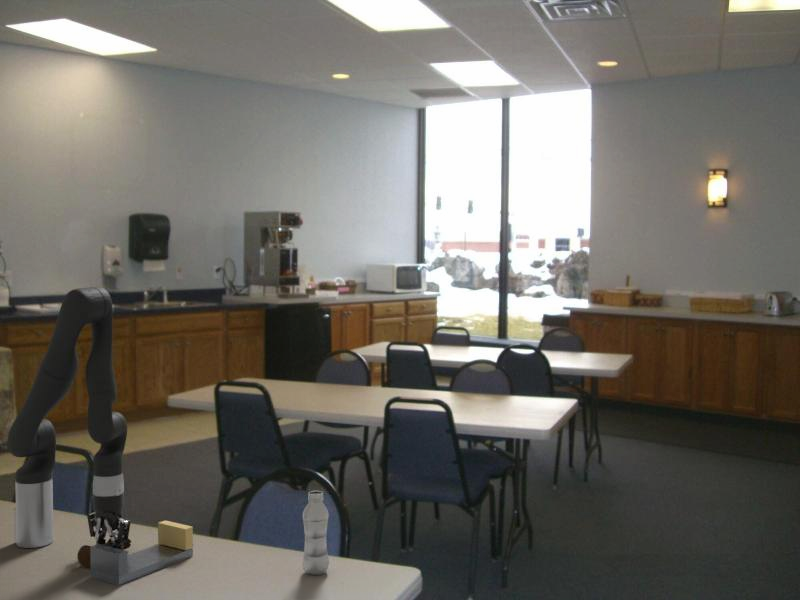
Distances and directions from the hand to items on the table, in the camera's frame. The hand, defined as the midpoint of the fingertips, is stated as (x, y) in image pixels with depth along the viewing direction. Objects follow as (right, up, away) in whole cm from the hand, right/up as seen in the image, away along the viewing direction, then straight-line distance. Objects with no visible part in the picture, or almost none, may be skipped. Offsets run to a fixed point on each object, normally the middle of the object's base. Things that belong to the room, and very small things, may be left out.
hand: (108, 555), depth 225 cm
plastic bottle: (+54, -2, -10) cm, 55 cm away
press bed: (+11, -1, -6) cm, 12 cm away
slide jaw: (+16, +2, +3) cm, 17 cm away
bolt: (0, -1, 0) cm, 1 cm away
